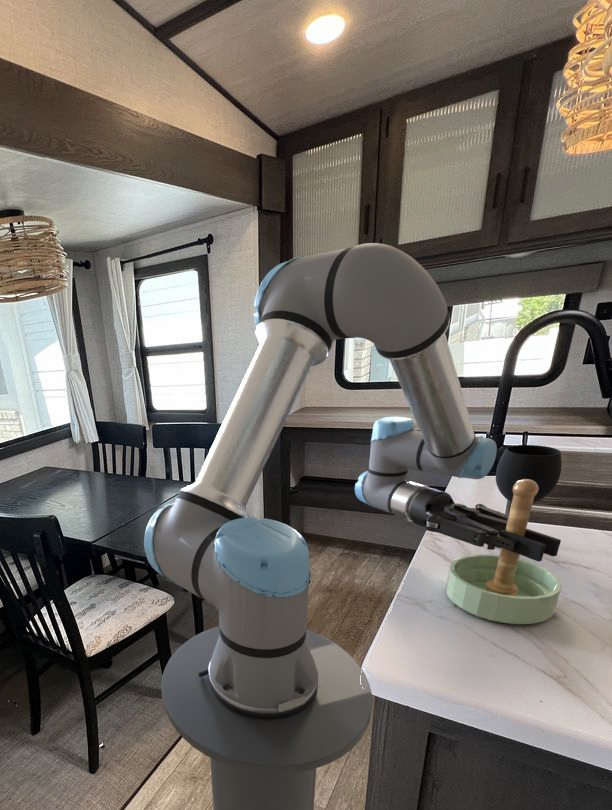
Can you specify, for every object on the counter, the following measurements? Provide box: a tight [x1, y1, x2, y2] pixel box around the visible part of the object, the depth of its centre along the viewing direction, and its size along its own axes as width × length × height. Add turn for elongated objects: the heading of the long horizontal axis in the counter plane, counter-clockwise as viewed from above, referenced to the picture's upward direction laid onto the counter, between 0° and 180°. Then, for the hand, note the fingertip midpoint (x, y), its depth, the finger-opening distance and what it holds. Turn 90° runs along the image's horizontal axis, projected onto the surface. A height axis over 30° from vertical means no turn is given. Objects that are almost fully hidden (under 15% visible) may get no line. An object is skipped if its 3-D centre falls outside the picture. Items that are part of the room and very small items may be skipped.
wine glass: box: [495, 444, 563, 549], centre depth 97 cm, size 10×10×20 cm
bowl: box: [445, 553, 563, 625], centre depth 80 cm, size 15×15×6 cm
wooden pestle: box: [485, 479, 539, 596], centre depth 76 cm, size 4×4×20 cm
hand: (549, 550), depth 71 cm, fingers closed on wooden pestle, 3 cm apart
